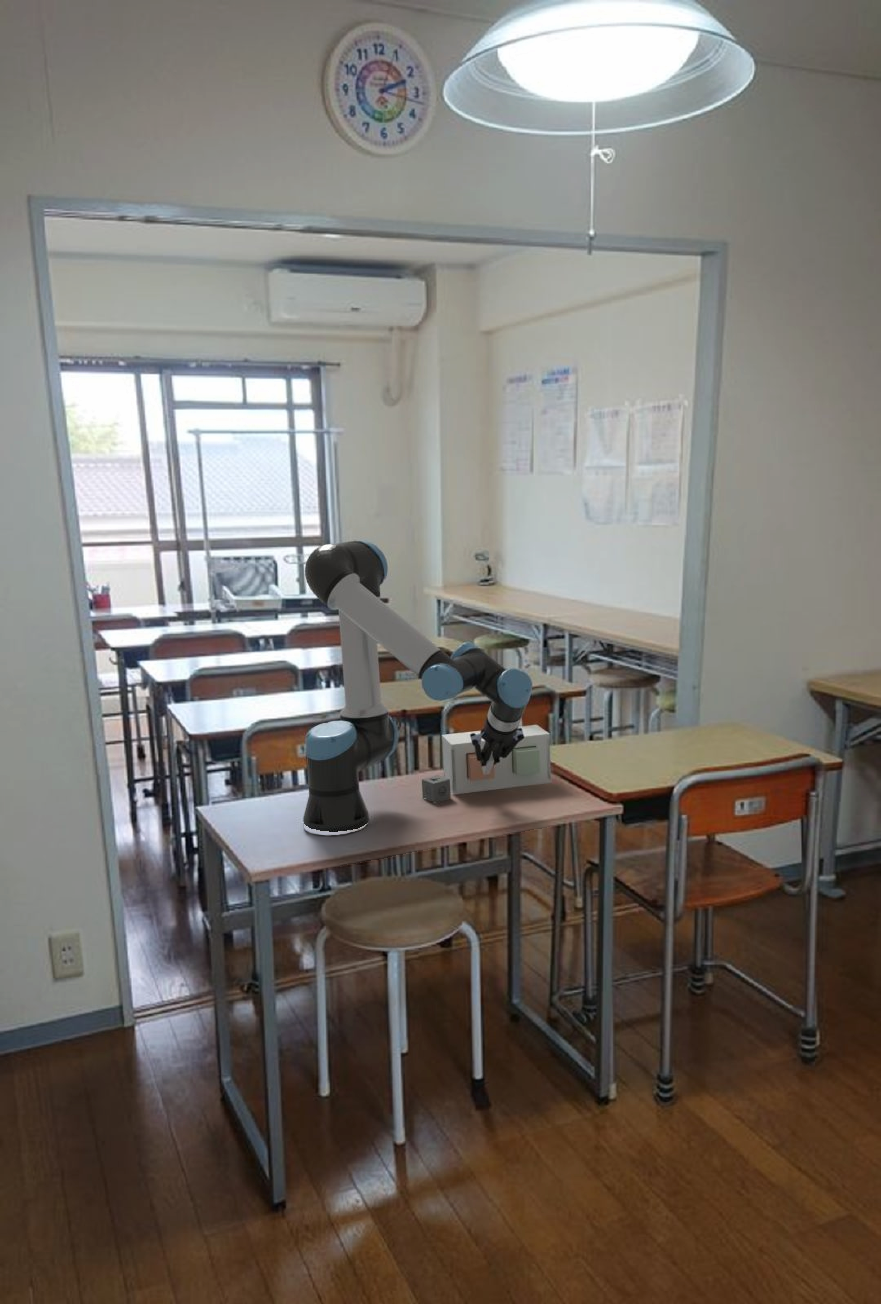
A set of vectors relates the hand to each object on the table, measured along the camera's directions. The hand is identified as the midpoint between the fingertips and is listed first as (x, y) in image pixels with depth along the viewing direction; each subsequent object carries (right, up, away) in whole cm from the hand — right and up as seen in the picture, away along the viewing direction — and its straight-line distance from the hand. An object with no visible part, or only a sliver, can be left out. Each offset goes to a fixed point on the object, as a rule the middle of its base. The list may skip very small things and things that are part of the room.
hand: (485, 769), depth 225 cm
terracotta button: (-1, -2, +6) cm, 7 cm away
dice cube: (-12, -8, +3) cm, 15 cm away
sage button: (+10, -1, +9) cm, 14 cm away
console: (+4, -5, +13) cm, 14 cm away
